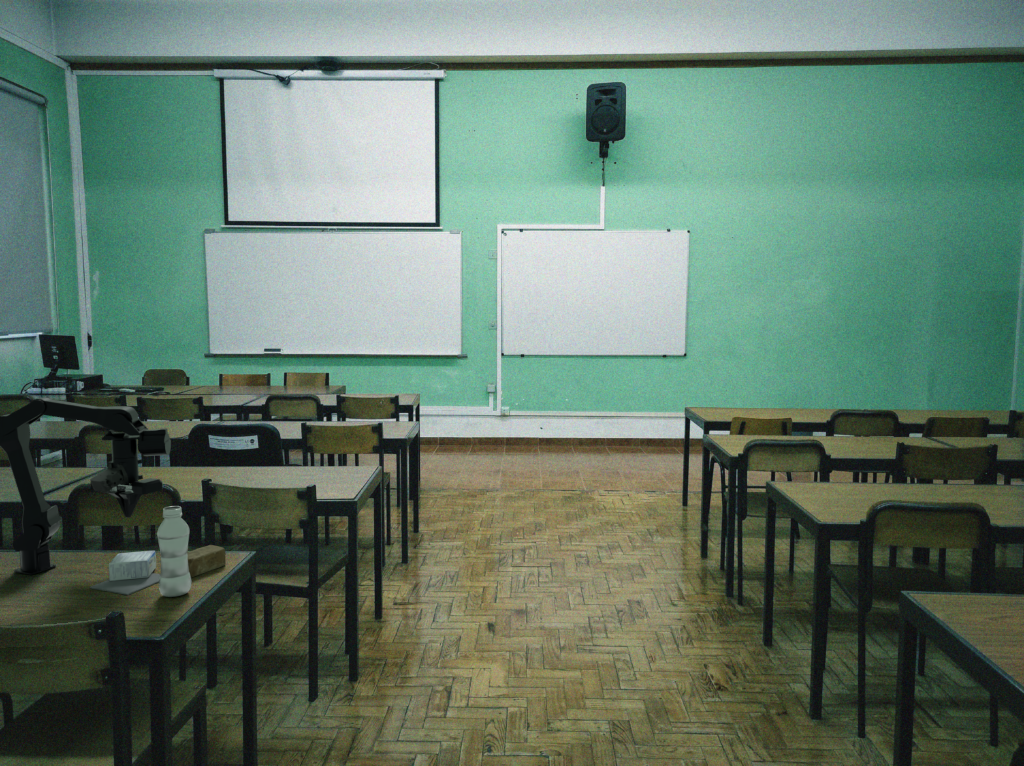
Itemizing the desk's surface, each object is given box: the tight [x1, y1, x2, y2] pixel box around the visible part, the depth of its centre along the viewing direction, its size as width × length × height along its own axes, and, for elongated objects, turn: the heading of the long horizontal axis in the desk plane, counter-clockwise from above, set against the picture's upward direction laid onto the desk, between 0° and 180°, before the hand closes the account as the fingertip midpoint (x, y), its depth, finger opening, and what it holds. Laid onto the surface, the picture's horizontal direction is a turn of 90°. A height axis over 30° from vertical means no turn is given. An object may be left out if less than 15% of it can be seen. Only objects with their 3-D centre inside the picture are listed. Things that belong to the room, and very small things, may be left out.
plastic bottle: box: [156, 505, 192, 598], centre depth 157 cm, size 6×7×20 cm
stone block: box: [187, 544, 227, 578], centre depth 174 cm, size 6×12×5 cm, turn 154°
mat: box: [89, 572, 161, 596], centre depth 166 cm, size 12×12×1 cm
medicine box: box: [108, 550, 157, 581], centre depth 170 cm, size 8×4×9 cm
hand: (128, 517), depth 178 cm, fingers closed
